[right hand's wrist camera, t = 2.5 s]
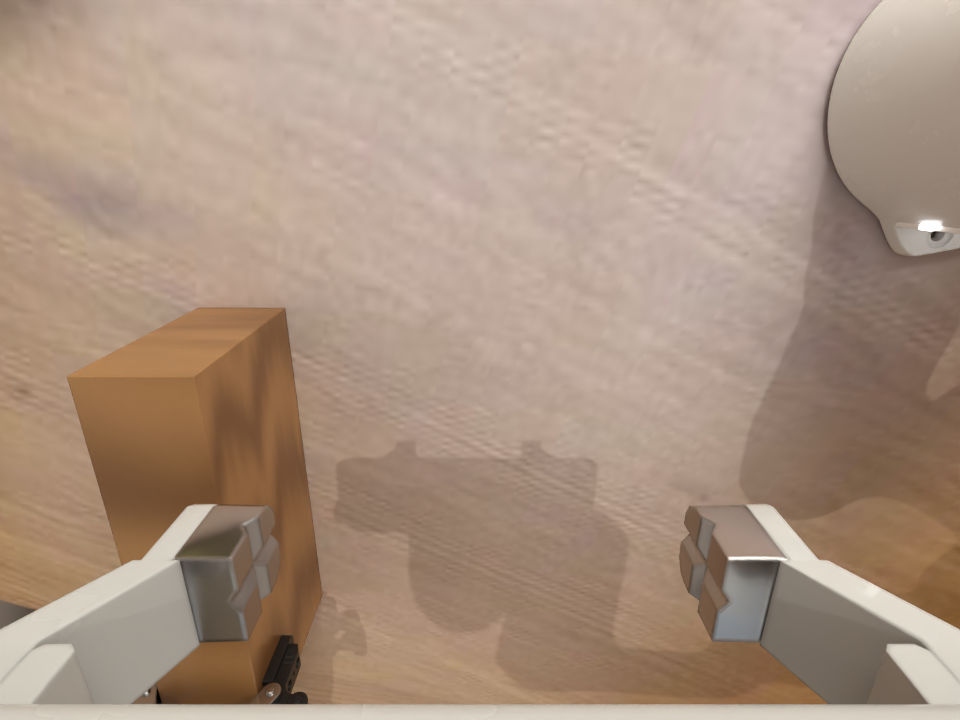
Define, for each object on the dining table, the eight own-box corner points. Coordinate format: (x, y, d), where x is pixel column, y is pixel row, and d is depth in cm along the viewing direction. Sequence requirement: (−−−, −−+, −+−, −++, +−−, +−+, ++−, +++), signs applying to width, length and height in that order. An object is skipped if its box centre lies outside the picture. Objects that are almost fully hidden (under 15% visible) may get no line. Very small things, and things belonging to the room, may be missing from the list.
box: (198, 307, 36) (65, 376, 25) (285, 307, 36) (193, 376, 25) (252, 594, 45) (173, 745, 33) (322, 595, 45) (267, 745, 33)
